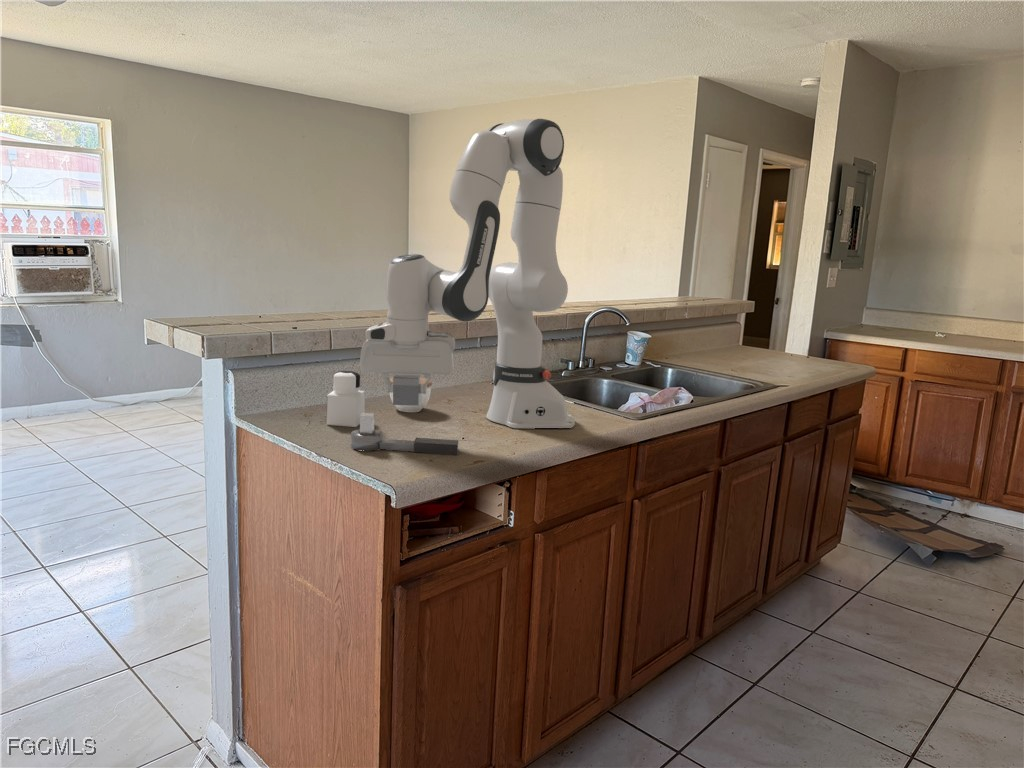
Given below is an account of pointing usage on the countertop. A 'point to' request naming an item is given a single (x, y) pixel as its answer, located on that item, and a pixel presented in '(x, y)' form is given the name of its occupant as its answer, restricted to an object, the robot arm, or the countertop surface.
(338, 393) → the medicine bottle
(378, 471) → the countertop surface
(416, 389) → the grey metal cube
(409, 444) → the ratchet
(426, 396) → the lidded jar
